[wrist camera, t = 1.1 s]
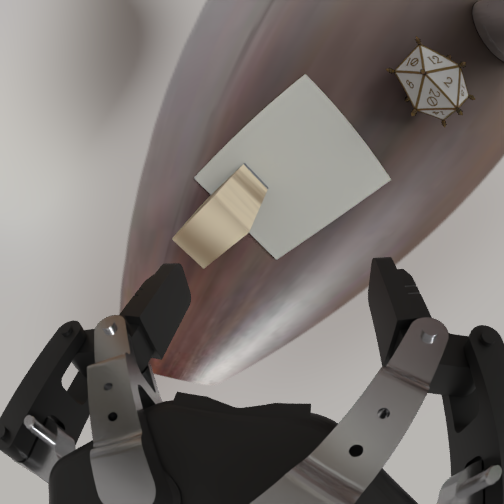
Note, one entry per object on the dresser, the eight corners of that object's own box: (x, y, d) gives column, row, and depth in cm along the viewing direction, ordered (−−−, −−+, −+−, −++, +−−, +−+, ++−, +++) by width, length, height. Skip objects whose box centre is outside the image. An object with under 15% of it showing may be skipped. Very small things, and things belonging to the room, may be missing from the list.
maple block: (244, 162, 30) (213, 197, 21) (268, 187, 31) (249, 232, 22) (210, 194, 33) (171, 238, 24) (233, 217, 34) (203, 268, 25)
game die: (418, 96, 24) (462, 154, 20) (363, 79, 23) (408, 139, 18) (447, 43, 16) (506, 97, 12) (390, 13, 15) (457, 60, 10)
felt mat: (305, 74, 23) (305, 73, 23) (390, 178, 27) (391, 179, 27) (194, 177, 32) (193, 178, 32) (276, 258, 36) (276, 259, 36)
